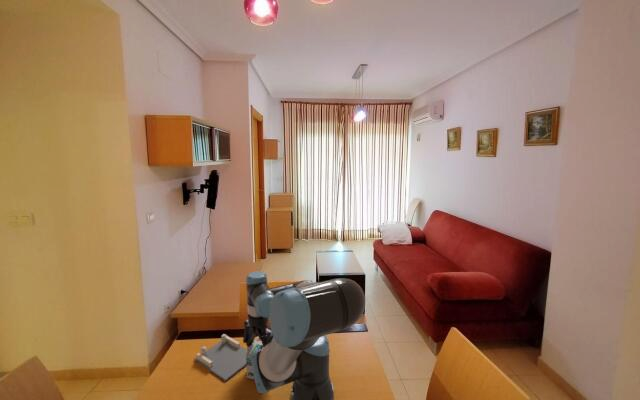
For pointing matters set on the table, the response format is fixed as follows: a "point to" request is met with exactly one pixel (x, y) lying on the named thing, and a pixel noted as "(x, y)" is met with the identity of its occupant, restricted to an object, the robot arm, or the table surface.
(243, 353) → the grey base plate
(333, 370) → the table surface
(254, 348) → the light bulb box
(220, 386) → the table surface
